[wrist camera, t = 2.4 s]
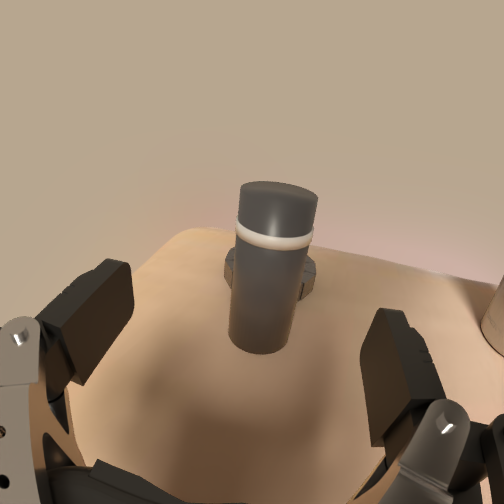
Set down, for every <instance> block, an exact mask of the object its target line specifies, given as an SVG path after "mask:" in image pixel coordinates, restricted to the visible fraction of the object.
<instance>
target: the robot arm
mask: <svg viewBox="0 0 504 504" xmlns="http://www.w3.org/2000/svg"><path fill="white" fill-rule="evenodd" d="M133 310H134V295H133V286H132V276H131V268H130V265H129V264H128V263H126V262H122V261H118V260H113V259H105V260H104V261H103V262H102V263H101V264H100V265H98V266H97V267H96V268H95V269H94V270H91V271H88V272H86V273H84V274H82V275H80V276H79V277H77V278H76V279H75V280H74V281H73V282H72V283H71V284H70V286H68V287H66V288H65V289H64V290H63V291H62V294H61V293H60V294H59V295H58V296H57V297H56V298H55V299H54V300H53V301H52V302H50V303H49V304H48V305H47V307H46V308H44V309H43V310H42V311H41V312H40V313H39V314H38V315H37V316H36V317H35V318H32V317H26V316H24V317H17V318H14V319H12V320H10V321H9V322H7V323H6V324H5V325H4V326H3V327H0V504H203V503H187V502H184V501H181V500H179V499H178V498H176V497H174V496H172V495H170V494H168V493H167V492H165V491H163V490H161V489H160V488H158V487H156V486H155V485H153V484H151V483H150V482H148V481H146V480H145V479H143V478H142V477H140V476H138V475H135V474H132V473H130V472H127V471H125V470H122V469H120V468H117V467H115V466H112V465H110V464H108V463H106V462H103V461H101V460H99V459H97V460H96V462H95V464H94V466H93V467H87V466H86V465H85V462H84V459H83V456H82V454H81V452H80V450H79V448H78V445H77V443H76V439H75V434H74V428H73V422H72V416H71V409H70V401H69V393H68V389H67V387H66V386H67V385H68V383H69V382H70V381H73V382H75V383H77V384H79V385H81V386H84V384H85V383H86V381H87V380H88V378H89V377H90V375H91V374H92V372H93V371H94V369H95V368H96V367H97V365H98V364H99V362H100V361H101V359H102V358H103V356H104V355H105V354H106V352H107V351H108V349H109V348H110V346H111V345H112V344H113V342H114V341H115V339H116V338H117V337H118V335H119V334H120V332H121V331H122V330H123V328H124V327H125V325H126V324H127V323H128V321H129V320H130V318H131V316H132V314H133ZM481 328H482V332H483V334H484V336H485V337H486V339H487V340H488V342H489V343H490V344H491V345H492V346H493V348H495V349H496V350H497V351H498V352H499V353H500V354H502V355H503V356H504V276H503V278H502V280H501V282H500V284H499V287H498V289H497V291H496V293H495V295H494V297H493V299H492V301H491V303H490V305H489V307H488V309H487V311H486V312H485V314H484V316H483V318H482V320H481ZM428 352H429V350H428V348H427V346H426V343H425V341H424V339H423V338H422V336H421V335H420V334H419V333H418V332H417V331H416V330H415V329H414V328H411V327H410V326H409V324H408V321H407V319H406V317H405V314H404V312H403V311H401V310H393V309H386V308H379V309H378V310H377V312H376V314H375V317H374V319H373V321H372V324H371V326H370V328H369V331H368V333H367V335H366V338H365V340H364V342H363V344H362V347H361V352H360V366H361V372H362V379H363V385H364V392H365V399H366V406H367V414H368V422H369V431H370V440H371V447H385V455H384V456H383V457H382V458H381V459H380V461H379V462H378V464H377V465H376V466H375V468H374V469H373V471H372V472H371V473H370V475H369V476H368V477H367V479H366V480H365V481H364V482H363V484H362V485H361V486H360V488H359V489H358V490H357V491H356V493H355V494H354V495H353V496H352V497H351V499H350V500H349V501H348V502H347V503H346V504H483V502H482V494H481V487H480V482H481V481H482V480H484V479H485V478H486V477H488V479H489V484H490V491H491V497H492V504H504V414H501V415H499V416H497V417H496V418H495V419H494V420H493V421H492V422H491V423H490V425H486V424H481V423H477V422H473V421H470V419H469V416H468V414H467V413H466V411H465V410H464V408H463V407H462V406H460V405H459V404H458V403H456V402H454V401H452V400H449V399H447V398H446V395H445V392H444V390H443V387H442V384H441V381H440V379H439V376H438V373H437V371H436V368H435V365H434V363H432V362H433V360H432V358H431V355H430V353H428ZM224 504H246V503H224Z"/></svg>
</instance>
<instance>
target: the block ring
mask: <svg viewBox="0 0 504 504" xmlns="http://www.w3.org/2000/svg"><path fill="white" fill-rule="evenodd" d="M234 256H235V247H234V248H231V250H229V252H228V254H227V256H226V259H225V269H224V277H225V279H226V281H227V283H228V285H229V286H230V288H231V289H232V279H233V267H234ZM315 276H316V268H315V263H314V261H313V260H312V259H311V258H310V257H309V256H308V255H307V257H306V262H305V267H304V271H303V276H302V281H301V285H300V290H299V294H298V298H297V301H299V300H302V299H303V298H304V297H305V296H306V295H307V294H309V293H310V292H311V291H312V288H313V284H314V280H315Z"/></svg>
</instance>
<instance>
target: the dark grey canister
mask: <svg viewBox="0 0 504 504" xmlns="http://www.w3.org/2000/svg"><path fill="white" fill-rule="evenodd" d="M317 201H318V197H317V195H316V194H314V193H313V192H311V191H309V190H307V189H304V188H302V187H298V186H295V185H291V184H286V183H279V182H268V181H258V182H249V183H246V184H243V185H242V186H241V189H240V201H239V211H238V215H237V217H236V228H235V231H236V244H235V256H234V267H233V279H232V292H231V304H230V317H229V331H228V333H229V337H230V339H231V341H232V342H233V343H234V344H235V345H236V346H237V347H238V348H240V349H242V350H244V351H246V352H249V353H253V354H270V353H274V352H276V351H278V350H280V349H281V348H283V347H284V346H285V344H286V343H287V340H288V336H289V332H290V328H291V324H292V320H293V316H294V311H295V307H296V303H297V298H298V294H299V290H300V285H301V281H302V276H303V271H304V267H305V262H306V257H307V253H308V248H309V244H310V242H311V241H312V235H313V230H314V227H313V223H314V217H315V212H316V207H317Z"/></svg>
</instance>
